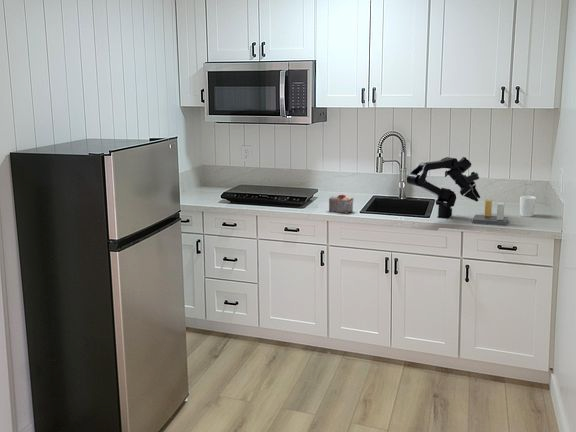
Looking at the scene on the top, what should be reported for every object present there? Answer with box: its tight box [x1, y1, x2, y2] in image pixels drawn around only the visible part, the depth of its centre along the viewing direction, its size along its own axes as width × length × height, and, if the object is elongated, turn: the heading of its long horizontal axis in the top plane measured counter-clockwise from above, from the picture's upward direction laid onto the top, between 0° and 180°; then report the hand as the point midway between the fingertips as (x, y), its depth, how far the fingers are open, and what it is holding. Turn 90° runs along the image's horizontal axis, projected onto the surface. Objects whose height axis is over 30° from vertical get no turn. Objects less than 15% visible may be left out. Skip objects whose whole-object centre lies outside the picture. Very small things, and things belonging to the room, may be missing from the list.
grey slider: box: [496, 202, 505, 220], centre depth 295 cm, size 3×4×8 cm
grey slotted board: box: [471, 214, 509, 227], centre depth 300 cm, size 16×12×2 cm
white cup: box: [519, 195, 537, 218], centre depth 312 cm, size 8×8×10 cm
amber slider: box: [484, 199, 493, 217], centre depth 303 cm, size 3×4×8 cm
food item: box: [328, 194, 354, 213], centre depth 330 cm, size 14×8×10 cm, turn 65°
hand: (478, 199), depth 309 cm, fingers open, 9 cm apart
